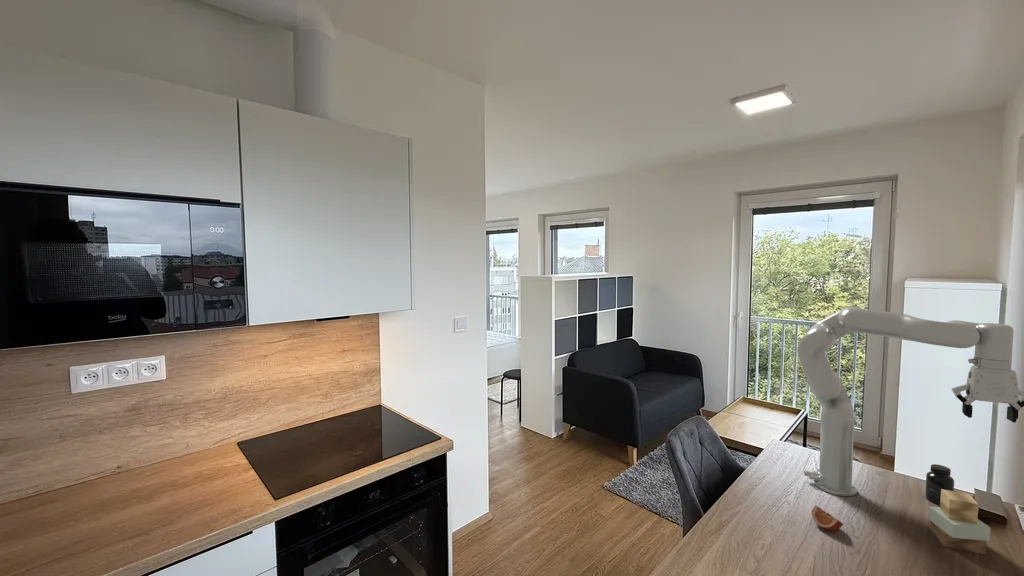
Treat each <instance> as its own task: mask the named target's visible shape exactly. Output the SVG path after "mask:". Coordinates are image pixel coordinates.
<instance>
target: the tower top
mask: <svg viewBox="0 0 1024 576" xmlns="http://www.w3.org/2000/svg"><path fill="white" fill-rule="evenodd" d="M927 514H928V515H927V519H928V520H929V522H930V521H932V522H933V523H934V524H935V525H937V526H938V527H939V528H941V529H942V530H943V531H944V532H946V533H947V534H948V535H950V536H951V537H952V538H961V539H972V540H983V541H986V542H990V541H991V530H992V529H991V527H990V526H989V525H987V524H986V523H984V522H983V521H981V520H980V519H978V520H977V524H972V523H968V522H963V521H958V520H953V519H948V517H947V516H946V515H945V514H944V512H943V511H942V510H941V508H940V506H928V513H927Z"/></svg>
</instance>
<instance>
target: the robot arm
mask: <svg viewBox="0 0 1024 576" xmlns="http://www.w3.org/2000/svg"><path fill="white" fill-rule="evenodd" d="M851 333H856V334H864V335H872V336H879V337H885V338H894V339H898V340H902V341H910V342H916V343H920V344H921V343H922V344H927V345H933V346H939V347H946V348H956V349H968V348H972V347H974V356H973V357H972V358H968V360H967V362H968V363H969V364H973V365H971V366H970V369H969V371H968V374H967V378H966V383H965V384H962V385H958V386H955V387H952V388H951V391H952V393H953V394H954V396H955V397H956V399H957V400H959V401H960V402H961V403H962V406H961V407H962V409H961V411H962V413H963V416H965V417H968V419H971V418H973V405H972V403H974V402H975V401H978V402H979V401H980V402H989V403H999V404H1008V406H1007V407H1006V420H1009V421H1010V422H1011V423H1013V424H1014V423H1017V420H1018V419H1019V411H1020V410H1022V408H1023V407H1024V392H1023V391H1022V390H1019V383H1018V376H1017V372H1016V371H1015V370H1013V369H1012V363H1013V361H1012V360H1013V359H1012V358H1013V347H1014V346H1013V345H1014V328H1013V327H1012V326H1011V325H1009V324H1003V323H996V322H995V323H993V322H985V323H984V322H983V323H978V322H971V321H964V320H954V319H953V320H949V321H937V320H936V321H935V320H930V319H924V318H919V317H915V316H912V315H908V314H905V313H900V312H891V311H881V310H874V309H873V310H871V309H867V308H866V309H864V308H861V307H859V306H851V305H850V306H846V307H845V308H844V307H843V308H842V309H840V310H839V311H837V312H835V313H833V314H831V315H830V316H828V317H826V318H824V319H823V320H820V321H819V322H817V323H814V324H813V325H812V326H811V327H810V328H809V330H808V331H807V332H806V333H805V334H804V335H803V336H802V337H801V339H800V340H799V342H798V344H797V349H796V350H797V351H796V352H797V357H798V360H799V363H800V365H801V367H802V371H803V373H804V376H805V378H806V380H807V383H808V386H809V388H810V391H811V392H812V394H813V395H814V396H815V397H816V398H817V399H818V402H819V403H820V406H821V412H820V432H819V433H820V435H819V436H820V439H819V441H820V442H819V443H820V444H819V469H816V471H810V470H803V476H804V477H808V479H809V480H813V483H814V485H815V486H816V487H817V488H819V489H820V490H821V491H824V492H825V493H829V494H832V495H834V496H840V497H854V496H856V495H857V493H858V488H857V487H856V486H855V485H854V484H853V483H852V482H853V464H854V463H853V461H854V460H853V459H854V435H855V422H856V421H855V410H854V406H853V403H852V402H851V400H850V397H849V395H848V393H847V390H846V388H845V386H844V383H843V382H842V379H841V378H840V376H839V375H838V374H837V373H836V372H835V371H833V370H832V367H831V364H830V362H829V360H828V358H827V355H826V352H827V350H828V349H829V348H831V347H833V345H834V344H835V342H836V341H837V340H839V339H841V338H843V337H845V336H847V335H849V334H851ZM964 391H965V395H964V396H963V395H962V393H961V392H964ZM1019 396H1021V398H1020V399H1019Z"/></svg>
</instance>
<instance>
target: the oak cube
mask: <svg viewBox="0 0 1024 576" xmlns="http://www.w3.org/2000/svg"><path fill="white" fill-rule="evenodd" d="M939 507H940V508H941V510H942V511H943V512H944V514H945V515H946V516H947V517H948V519H953V520H958V521H963V522H968V523H972V524H977V520H978V517H979V515H978V514H979V503H978V502H977V501H976V500H975V499H974V498H973V496H971V495H970V494H969V493H966V492H959V491H955V490H954V491H950V490H944V489H941V499H940V505H939Z"/></svg>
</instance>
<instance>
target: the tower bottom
mask: <svg viewBox="0 0 1024 576" xmlns="http://www.w3.org/2000/svg"><path fill="white" fill-rule="evenodd" d="M929 529H930V530H931V532H932V533H933V534H934V536H935V537H936V538H937V539H938V540H939V542H940V543H941V545H942V546H943V547H950V548H953V549H957V550H963V551H967V552H972V553H977V554H982V555H987V547H988V546H987V545H988V541H983V540H972V539H961V538H952V537H951V536H950V535H948V534H947V533H946V532H944V531H943V530H942V529H941V528H939V527H938V526H937V525H935V524H934V523H933V522H932V521H930V520H929Z"/></svg>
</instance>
